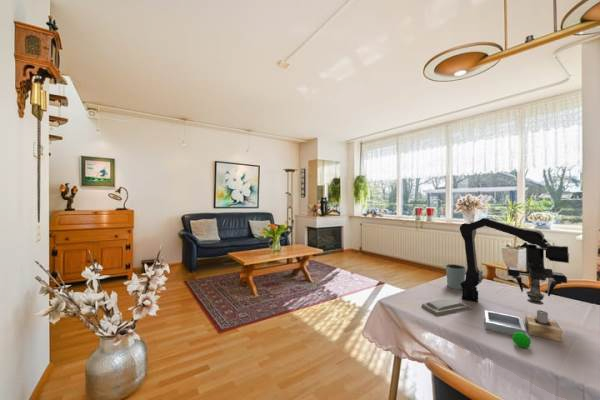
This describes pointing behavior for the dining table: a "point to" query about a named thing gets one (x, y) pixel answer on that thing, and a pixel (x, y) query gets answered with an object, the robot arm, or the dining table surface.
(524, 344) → the green ball
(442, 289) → the dining table surface
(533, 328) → the square wooden frame
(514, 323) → the tray
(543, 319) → the pin
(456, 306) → the grey stepped plate
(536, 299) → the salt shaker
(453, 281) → the grey-blue cylindrical pot
